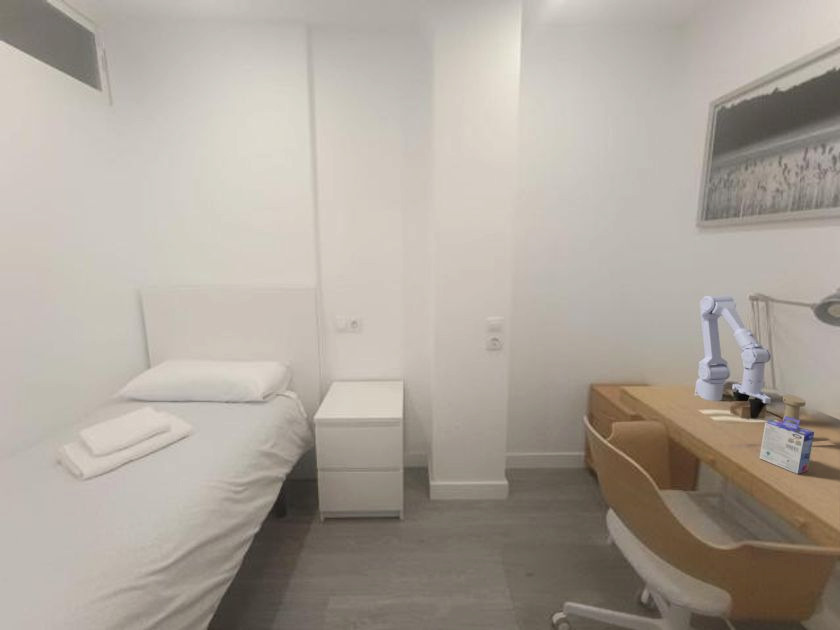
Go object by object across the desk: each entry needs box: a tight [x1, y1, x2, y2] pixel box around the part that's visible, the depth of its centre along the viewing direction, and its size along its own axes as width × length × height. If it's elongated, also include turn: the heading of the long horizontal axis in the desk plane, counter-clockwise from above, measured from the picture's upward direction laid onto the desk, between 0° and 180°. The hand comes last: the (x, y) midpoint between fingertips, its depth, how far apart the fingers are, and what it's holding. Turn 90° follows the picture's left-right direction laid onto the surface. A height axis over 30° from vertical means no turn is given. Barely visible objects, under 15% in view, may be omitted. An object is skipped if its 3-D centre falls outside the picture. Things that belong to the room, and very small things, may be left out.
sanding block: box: [729, 400, 767, 418], centre depth 149 cm, size 5×9×4 cm, turn 92°
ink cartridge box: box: [759, 416, 815, 475], centre depth 118 cm, size 10×6×14 cm, turn 24°
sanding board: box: [697, 408, 783, 425], centre depth 149 cm, size 16×28×2 cm, turn 92°
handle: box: [782, 394, 807, 424], centre depth 131 cm, size 5×6×15 cm
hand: (747, 414), depth 149 cm, fingers closed on sanding block, 5 cm apart
